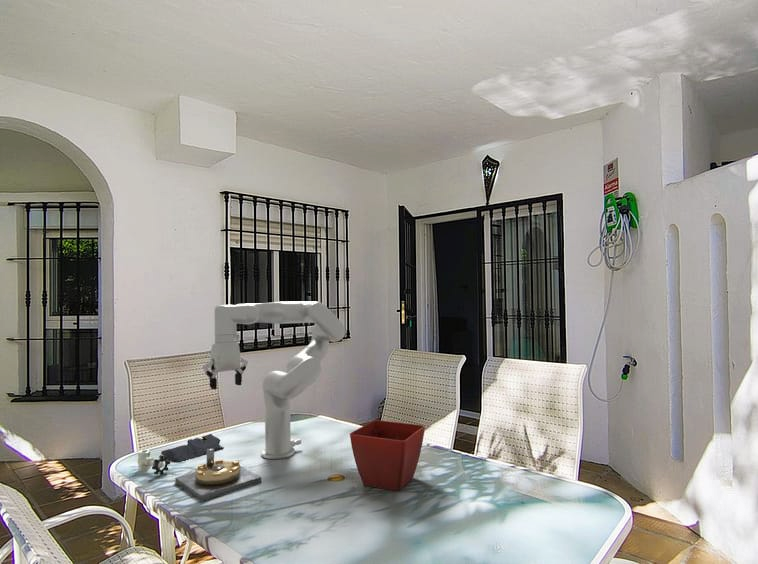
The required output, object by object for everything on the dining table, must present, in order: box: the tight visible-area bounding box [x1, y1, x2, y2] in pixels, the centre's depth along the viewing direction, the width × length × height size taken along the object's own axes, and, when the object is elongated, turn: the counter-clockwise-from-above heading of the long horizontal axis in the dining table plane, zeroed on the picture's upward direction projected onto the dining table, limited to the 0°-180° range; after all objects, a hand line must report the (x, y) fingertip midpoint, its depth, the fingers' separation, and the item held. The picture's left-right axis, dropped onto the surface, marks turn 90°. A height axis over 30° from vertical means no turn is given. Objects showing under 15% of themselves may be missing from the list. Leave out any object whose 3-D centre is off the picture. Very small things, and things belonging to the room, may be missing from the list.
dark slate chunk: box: [160, 433, 225, 463], centre depth 190 cm, size 15×22×5 cm
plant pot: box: [349, 419, 426, 492], centre depth 156 cm, size 19×19×17 cm
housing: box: [174, 465, 262, 502], centre depth 158 cm, size 20×20×3 cm
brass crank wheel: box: [194, 449, 241, 485], centre depth 158 cm, size 14×14×8 cm
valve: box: [137, 449, 171, 476], centre depth 169 cm, size 7×7×12 cm
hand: (226, 386), depth 173 cm, fingers open, 9 cm apart
